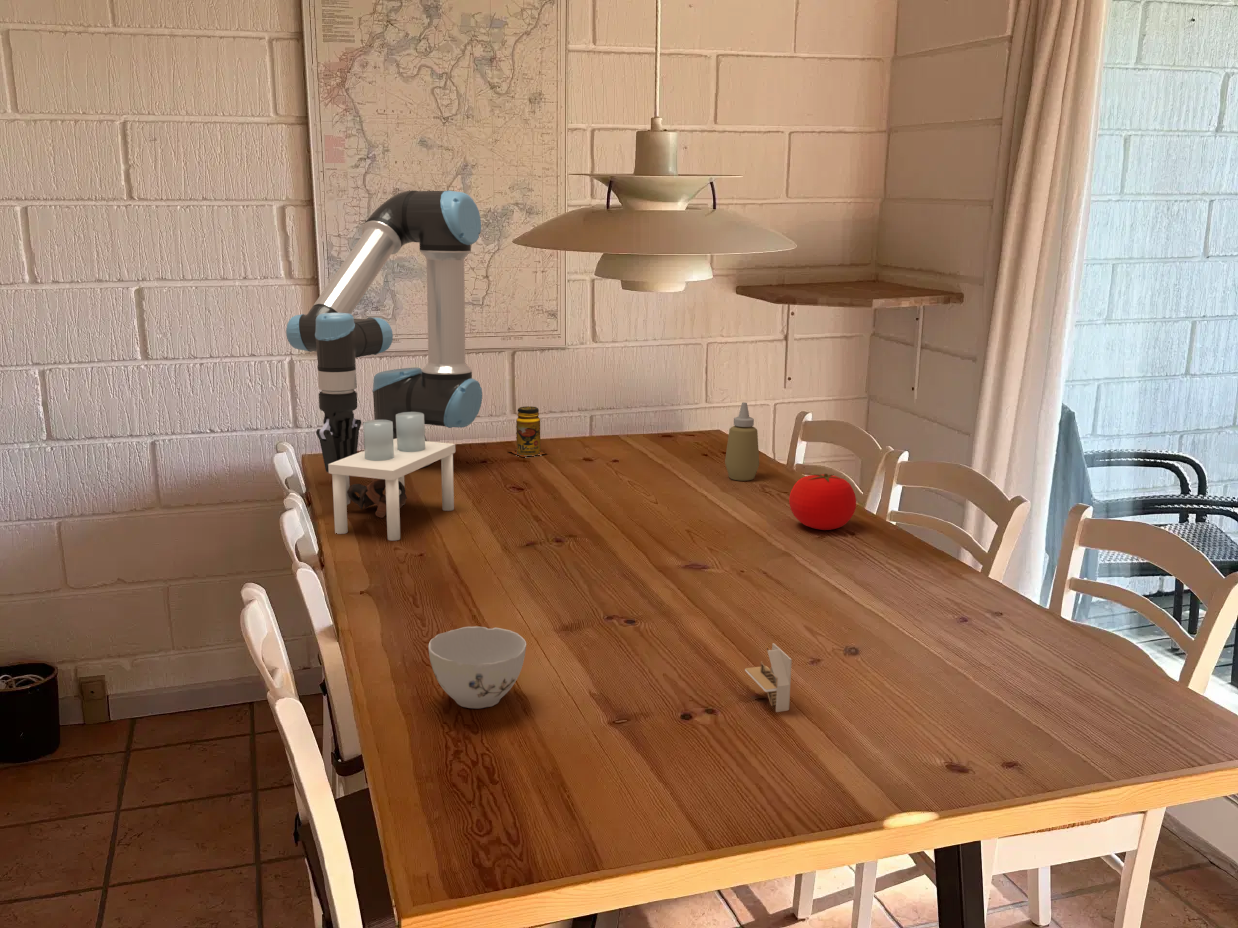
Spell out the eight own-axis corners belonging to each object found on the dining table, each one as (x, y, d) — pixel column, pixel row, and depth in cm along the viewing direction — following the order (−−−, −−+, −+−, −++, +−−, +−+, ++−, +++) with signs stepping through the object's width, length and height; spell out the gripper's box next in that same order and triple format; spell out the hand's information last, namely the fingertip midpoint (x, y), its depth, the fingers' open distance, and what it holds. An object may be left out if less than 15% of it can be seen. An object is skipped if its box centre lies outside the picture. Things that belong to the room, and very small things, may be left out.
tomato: (865, 532, 220) (869, 478, 217) (807, 538, 215) (810, 483, 213) (834, 516, 231) (837, 464, 228) (778, 521, 226) (780, 469, 224)
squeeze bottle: (735, 472, 266) (737, 398, 262) (765, 477, 262) (768, 402, 258) (717, 479, 260) (720, 403, 256) (748, 484, 255) (751, 407, 251)
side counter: (397, 501, 238) (395, 438, 234) (456, 508, 233) (455, 443, 230) (331, 533, 215) (328, 464, 211) (395, 541, 210) (392, 470, 207)
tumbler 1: (374, 453, 221) (373, 418, 219) (399, 455, 219) (398, 420, 217) (359, 459, 216) (357, 423, 214) (384, 461, 214) (383, 426, 212)
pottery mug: (402, 505, 236) (411, 477, 231) (398, 536, 229) (407, 507, 224) (345, 494, 233) (353, 465, 228) (340, 524, 226) (347, 495, 221)
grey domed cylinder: (405, 444, 228) (403, 411, 226) (430, 446, 227) (428, 412, 225) (392, 450, 223) (390, 416, 221) (418, 452, 222) (416, 418, 220)
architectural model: (765, 716, 142) (767, 662, 140) (744, 693, 149) (746, 642, 147) (789, 713, 143) (792, 659, 141) (767, 691, 150) (770, 639, 148)
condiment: (523, 458, 278) (523, 411, 275) (506, 452, 285) (506, 406, 282) (548, 454, 282) (548, 408, 279) (531, 448, 289) (530, 403, 286)
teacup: (535, 715, 141) (535, 656, 139) (436, 726, 137) (434, 666, 135) (513, 667, 155) (512, 613, 153) (422, 677, 151) (421, 622, 150)
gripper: (340, 384, 231) (344, 493, 237) (302, 394, 219) (308, 509, 225) (371, 387, 229) (375, 497, 234) (335, 397, 217) (340, 513, 222)
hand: (342, 503), depth 230 cm, fingers closed
